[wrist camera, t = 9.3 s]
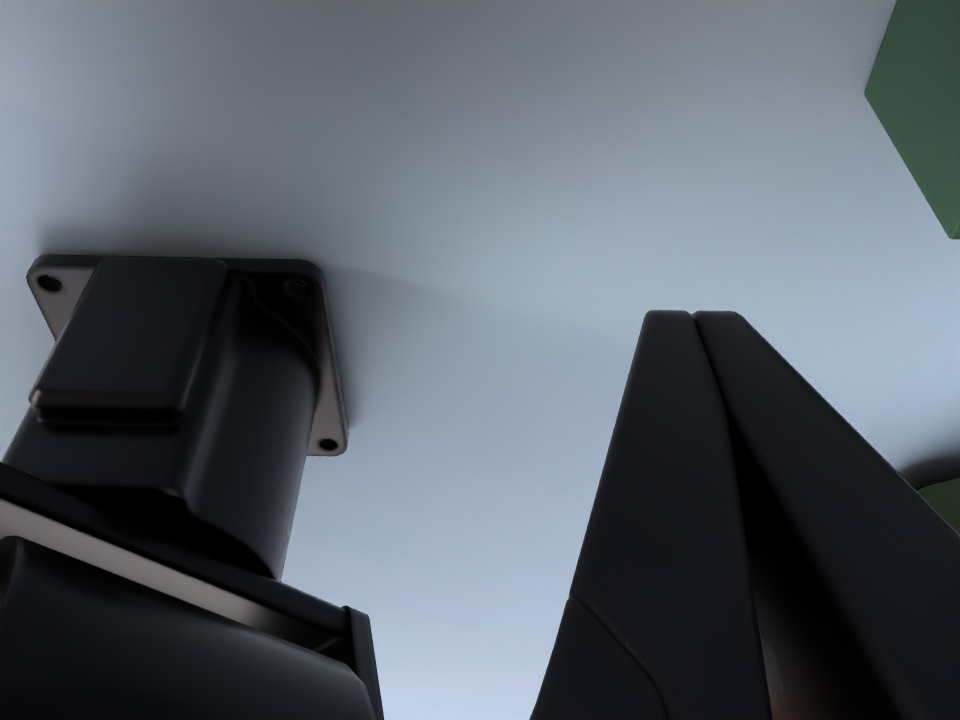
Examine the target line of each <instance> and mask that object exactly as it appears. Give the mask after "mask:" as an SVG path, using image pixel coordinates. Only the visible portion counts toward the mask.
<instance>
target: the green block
mask: <svg viewBox="0 0 960 720" xmlns="http://www.w3.org/2000/svg"><path fill="white" fill-rule="evenodd" d="M864 95H865V97H866V98H867V100H868V102H869V103H870V105H871V107H872V108H873V110H874V112H875V114H876V115H877V117H878V119H879V120H880V122H881V124H882V125H883V127H884V129H885V130H886V132H887V134H888V136H889V137H890V139H891V141H892V142H893V144H894V146H895V147H896V149H897V151H898V152H899V154H900V156H901V157H902V159H903V161H904V163H905V164H906V166H907V168H908V169H909V171H910V173H911V174H912V176H913V178H914V179H915V181H916V183H917V185H918V186H919V188H920V190H921V191H922V193H923V195H924V196H925V198H926V200H927V201H928V203H929V205H930V207H931V208H932V210H933V212H934V213H935V215H936V217H937V218H938V220H939V222H940V223H941V225H942V227H943V229H944V230H945V232H946V234H947V235H948V237H949V238H950V239H960V0H898V1H897V4H896V6H895V9H894V12H893V15H892V17H891V20H890V23H889V26H888V28H887V31H886V34H885V37H884V40H883V42H882V45H881V48H880V51H879V53H878V56H877V59H876V62H875V64H874V67H873V70H872V73H871V75H870V78H869V81H868V84H867V86H866V89H865V92H864Z"/></svg>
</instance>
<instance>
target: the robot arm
mask: <svg viewBox="0 0 960 720" xmlns="http://www.w3.org/2000/svg"><path fill="white" fill-rule="evenodd" d="M48 275H50V276H53V277H55V278H57V279H58V280H54V279H53V278H51V277H49V276H48ZM26 279H27V283H28V285H29V287H30V289H31V291H32V293H33V295H34V298H35V300H36V302H37V304H38V306H39V308H40V310H41V312H42V314H43V316H44V318H45V320H46V322H47V324H48V326H49V328H50V330H51V332H52V334H53V336H54V339H55V341H56V343H55V345H54V347H53V349H52V351H51V353H50V355H49V357H48V359H47V361H46V363H45V364H44V366H43V368H42V370H41V372H40V374H39V376H38V378H37V380H36V382H35V384H34V386H33V387H32V389H31V391H30V393H29V399H28V400H29V402H30V404H31V405H30V407H29V409H28V411H27V413H26V415H25V417H24V419H23V420H22V422H21V424H20V426H19V428H18V430H17V432H16V434H15V436H14V438H13V440H12V442H11V444H10V446H9V448H8V450H7V452H6V454H5V456H4V457H3V459H2V461H1V462H0V720H384V715H383V708H382V701H381V694H380V688H379V681H378V674H377V667H376V660H375V654H374V647H373V640H372V633H371V626H370V619H369V616H368V615H367V614H365V613H362V612H360V611H358V610H355V609H353V608H351V607H348V606H343V607H342V608H340V607H337V606H335V605H333V604H330V603H328V602H326V601H323V600H321V599H319V598H317V597H314V596H312V595H310V594H307V593H305V592H303V591H300V590H298V589H296V588H293V587H291V586H289V585H286V584H284V583H282V582H281V578H282V573H283V568H284V563H285V558H286V553H287V548H288V543H289V538H290V533H291V528H292V523H293V518H294V513H295V509H296V504H297V499H298V494H299V489H300V484H301V479H302V474H303V469H304V464H305V459H306V456H338V455H340V454H343V453H344V452H345V451H346V449H347V443H348V437H349V430H348V424H347V418H346V411H345V405H344V399H343V392H342V386H341V380H340V373H339V367H338V361H337V354H336V348H335V342H334V336H333V329H332V323H331V317H330V310H329V304H328V298H327V291H326V285H325V279H324V275H323V273H322V271H321V270H320V269H319V268H318V267H317V266H316V265H315V264H313V263H311V262H309V261H305V260H299V259H252V258H202V257H151V256H101V255H51V254H49V255H42V256H40V257H38V258H37V259H35V261H34V262H33V264H32V266H31V267H30V269H29V271H28V273H27V275H26ZM293 280H301V281H304V282H306V283H307V284H308V285H305V286H302V285H298V284H296V283H295V282H293ZM529 720H960V534H959V533H958V532H957V531H956V530H955V529H954V528H953V527H952V526H951V525H950V524H949V523H948V522H947V521H946V520H945V519H944V518H943V517H942V516H941V515H940V514H939V513H938V512H937V511H936V510H935V509H934V508H933V507H932V506H931V505H930V504H929V503H928V502H927V501H926V500H925V499H924V498H923V497H922V496H921V495H920V494H919V493H918V492H917V491H916V490H915V489H914V488H913V487H912V486H911V485H910V484H909V483H908V482H907V481H906V480H905V479H904V478H903V477H902V476H901V475H900V474H899V473H898V472H897V471H896V470H895V469H894V468H893V467H892V466H891V465H890V464H889V463H888V462H887V461H886V460H885V459H884V458H883V457H882V456H881V455H880V454H879V453H878V452H877V451H876V450H875V449H874V448H873V447H872V446H871V445H870V444H869V443H868V442H867V441H866V440H865V439H864V438H863V437H862V436H861V435H860V434H859V433H858V432H857V431H856V430H855V429H854V428H853V427H852V426H851V425H850V424H849V423H848V422H847V421H846V420H845V419H844V418H843V417H842V416H841V415H840V414H839V413H838V412H837V411H836V410H835V409H834V408H833V407H832V406H831V405H830V404H829V403H828V402H827V401H826V400H825V399H824V398H823V397H822V396H821V395H820V394H819V393H818V392H817V391H816V390H815V389H814V388H813V387H812V386H811V385H810V384H809V383H808V382H807V381H806V380H805V379H804V378H803V377H802V376H801V375H800V374H799V373H798V372H797V371H796V370H795V369H794V368H793V367H792V366H791V365H790V364H789V363H788V362H787V361H786V360H785V359H784V358H783V357H782V356H781V355H780V354H779V353H778V352H777V351H776V350H775V349H774V348H773V347H772V346H771V345H770V344H769V343H768V342H767V341H766V340H765V339H764V338H763V337H762V336H761V335H760V334H759V333H758V332H757V331H756V330H755V329H754V328H753V327H752V326H751V325H750V324H749V323H748V322H747V320H746V319H745V318H744V317H742V316H741V315H740V314H738V313H736V312H732V311H697V312H695V313H693V314H692V315H691V314H690V313H688V312H687V311H683V310H650V311H648V312H647V313H646V315H645V317H644V320H643V324H642V328H641V331H640V335H639V339H638V342H637V346H636V350H635V353H634V357H633V361H632V364H631V368H630V372H629V375H628V379H627V383H626V386H625V390H624V394H623V397H622V401H621V405H620V408H619V412H618V416H617V419H616V423H615V427H614V430H613V434H612V438H611V441H610V445H609V449H608V453H607V456H606V460H605V464H604V467H603V471H602V475H601V478H600V482H599V486H598V489H597V493H596V497H595V500H594V504H593V508H592V511H591V515H590V519H589V522H588V526H587V530H586V533H585V537H584V541H583V544H582V548H581V552H580V555H579V559H578V563H577V566H576V570H575V574H574V577H573V581H572V585H571V588H570V593H569V599H568V600H567V602H566V605H565V608H564V612H563V616H562V619H561V623H560V627H559V630H558V634H557V638H556V641H555V645H554V648H553V651H552V654H551V657H550V660H549V664H548V667H547V670H546V673H545V676H544V679H543V683H542V686H541V689H540V692H539V695H538V698H537V702H536V704H535V707H534V709H533V712H532V714H531V717H530V719H529Z"/></svg>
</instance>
